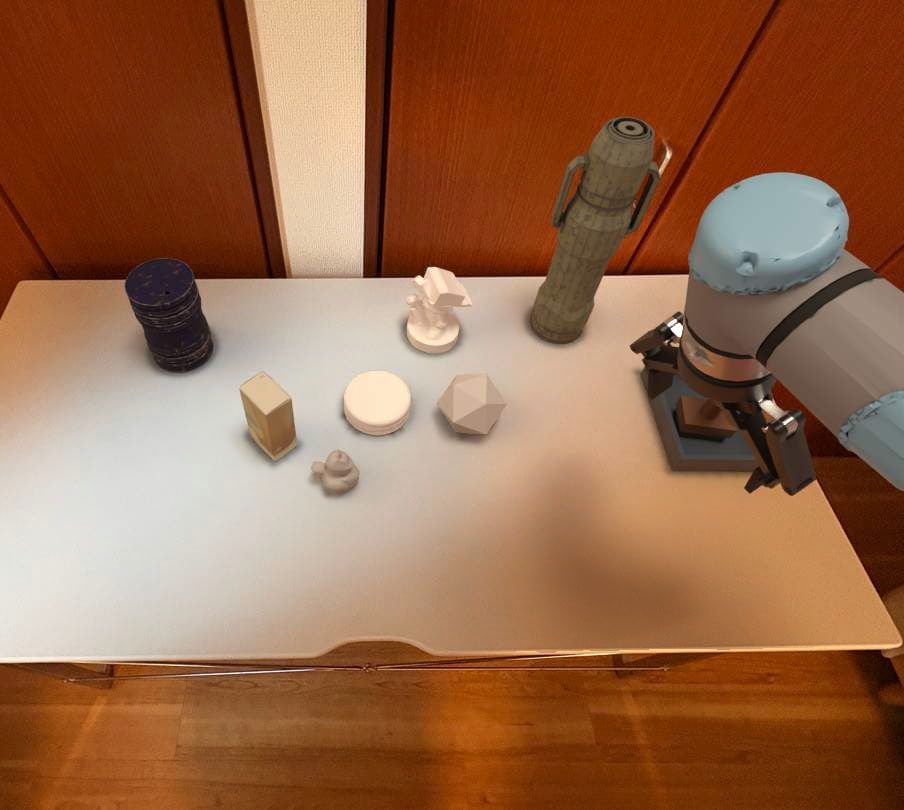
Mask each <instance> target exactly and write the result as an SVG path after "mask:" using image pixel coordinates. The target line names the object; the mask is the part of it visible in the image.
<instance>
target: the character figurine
mask: <svg viewBox="0 0 904 810" xmlns="http://www.w3.org/2000/svg"><path fill="white" fill-rule="evenodd" d="M410 283H411V284H412V285H414V286H413V288H414V289H416V290H417V291H418V292H419V293H421V294H422V298H421V299H420V298H419V296H418V294H415V293H413V294H409V296H407V298H406V300H405V302H406V304H407V306H409V308H408V311H409V313H410V315H409V317H408V319H407V323H406V337H407V339H408V342H409V343H410V344H411V345H412V346H413V347H414V348H415V349H417V350H419V351H420V352H423V353H428V354H436V355H437V354H443V353H445V352H447V351H450V350H451V349H452V348H453V347H454V346H455V345H456V343H457V341H458V337H459V332H460V324H459V321H458V319H457V317H456V315H454V314H453V308H455V307H457V308H458V307H462V308H463V307H466V308H467V307H468V308H469V307H472V306H473V302H472V299H471V298H470V295H469V294H468V292H467V290H466V288H465V287H464V285H463V283H459V281H458V278H457V277H456V276H455V273H453V271H450V270H447V269H444V268H440V267H436V266H428V267H427V268H426V270H425V274H424V276H423V277H422V276H421V275H416V276H415V277H413V279H412V280H411V281H410Z"/></svg>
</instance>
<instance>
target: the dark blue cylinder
mask: <svg viewBox="0 0 904 810" xmlns="http://www.w3.org/2000/svg"><path fill="white" fill-rule="evenodd" d="M193 272H194V271H193V270H192V268H191V267H190V266H189V265H188V264H187V263H185V262H183V261H181V260H179V259H176V258H171V257H162V258H154V259H151V260H147V261H145V262H143V263H140V264H139V265H137V266H135V268H133V269H132V270H131V271H130V272H129V273H128V275H127V276H126V278H125V281H124V291H125V293H126V296H127V298H128V300H129V305H130V307H131V309H132V312H133V313H134V316H135V318H136V320H137V321H138V322H139V324H140V325H141V327H142V329H143V335H144V339H145V341H146V345H147V348H148V350H149V351H150V353H151V355H152V357H153V359H154V363H156V365H157V366H158V367H159V368H160V369H162V370H164V371H165V372H169V373H175V374H181V373H188V372H192V371H194V370H197V369H199V368H201V367H202V366H204V365H205V364H206V363H208V361H209V360H210V358H211V357H212V355H213V352H214V341H213V338H212V332H211V331H212V330H211V328H210V325H209V322H208V320H207V317H206V316H205V314H204V312H203V309H202V297H201V295H200V294H201V293H200V291H199V287H198V284H197V282H196V279H195V275H194V273H193Z"/></svg>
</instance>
